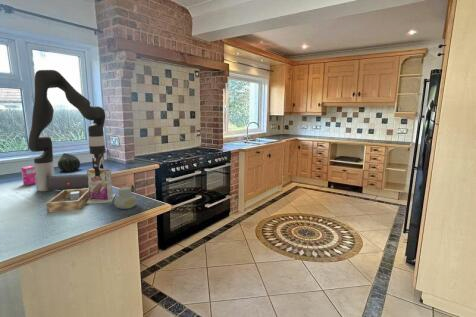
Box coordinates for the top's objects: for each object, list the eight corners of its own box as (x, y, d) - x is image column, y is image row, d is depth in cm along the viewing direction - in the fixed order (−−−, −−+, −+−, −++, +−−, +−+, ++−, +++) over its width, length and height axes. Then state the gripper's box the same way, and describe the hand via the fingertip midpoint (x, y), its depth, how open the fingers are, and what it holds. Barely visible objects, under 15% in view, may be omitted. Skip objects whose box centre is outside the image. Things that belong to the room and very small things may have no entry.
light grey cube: (70, 201, 143) (70, 194, 142) (72, 198, 146) (71, 192, 146) (79, 200, 144) (78, 193, 144) (80, 198, 148) (79, 191, 147)
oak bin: (47, 212, 127) (46, 203, 126) (64, 197, 148) (63, 190, 147) (79, 209, 131) (78, 201, 130) (91, 195, 151) (91, 188, 151)
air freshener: (132, 202, 141) (131, 184, 139) (140, 206, 136) (139, 187, 134) (111, 208, 133) (110, 189, 131) (120, 212, 128) (118, 192, 126)
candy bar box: (89, 199, 144) (86, 169, 141) (95, 196, 149) (92, 167, 146) (107, 200, 142) (105, 170, 139) (113, 197, 147) (111, 168, 144)
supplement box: (22, 184, 173) (20, 167, 171) (33, 182, 178) (30, 165, 176) (27, 185, 170) (25, 168, 168) (37, 183, 176) (35, 166, 174)
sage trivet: (86, 204, 138) (86, 202, 138) (92, 196, 150) (92, 195, 150) (111, 202, 141) (111, 200, 141) (115, 195, 153) (115, 193, 153)
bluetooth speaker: (47, 194, 154) (45, 177, 152) (53, 189, 162) (51, 173, 160) (90, 191, 160) (89, 175, 158) (94, 186, 169) (92, 171, 167)
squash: (84, 163, 213) (76, 149, 216) (65, 167, 201) (56, 152, 204) (79, 173, 221) (71, 159, 224) (60, 177, 209) (52, 162, 211)
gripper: (101, 146, 134) (104, 177, 137) (107, 142, 148) (109, 170, 151) (85, 146, 132) (88, 177, 135) (92, 142, 146) (95, 171, 149)
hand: (99, 174), depth 143 cm, fingers open, 8 cm apart
